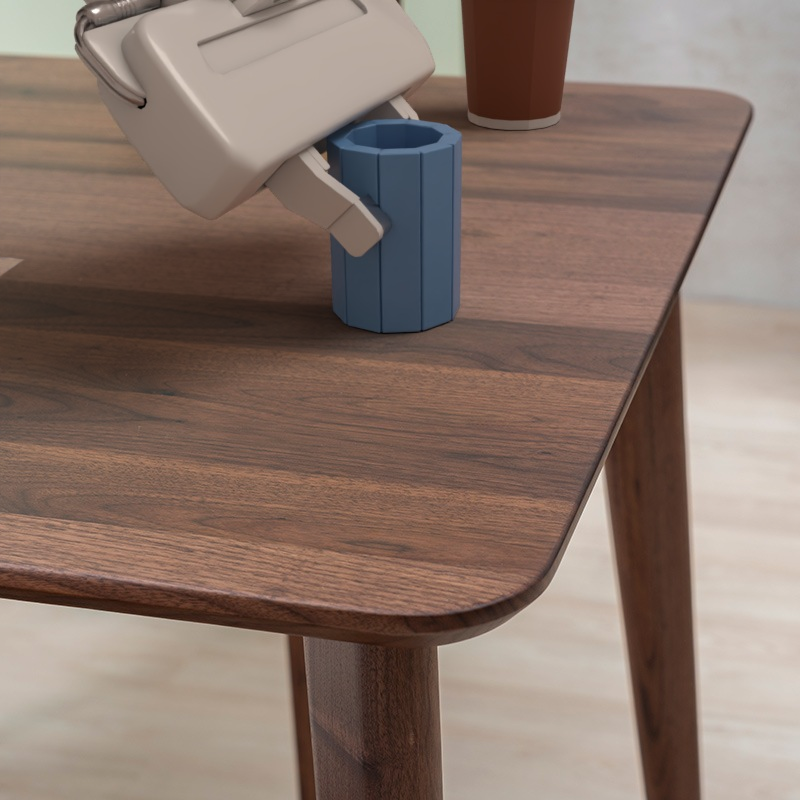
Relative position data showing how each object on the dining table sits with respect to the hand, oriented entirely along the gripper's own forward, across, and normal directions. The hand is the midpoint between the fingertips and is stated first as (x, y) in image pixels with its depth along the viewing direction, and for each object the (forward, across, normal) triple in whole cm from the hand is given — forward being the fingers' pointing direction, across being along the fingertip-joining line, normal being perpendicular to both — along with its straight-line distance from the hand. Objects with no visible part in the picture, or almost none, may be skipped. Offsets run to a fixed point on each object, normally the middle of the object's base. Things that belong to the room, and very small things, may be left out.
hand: (408, 217), depth 55 cm
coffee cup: (-1, +34, +8) cm, 35 cm away
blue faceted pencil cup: (+3, 0, +4) cm, 4 cm away
